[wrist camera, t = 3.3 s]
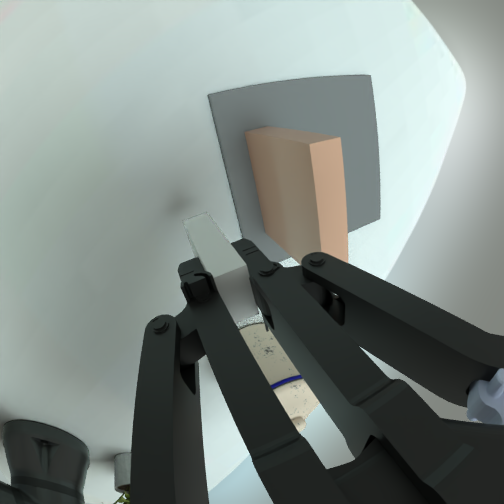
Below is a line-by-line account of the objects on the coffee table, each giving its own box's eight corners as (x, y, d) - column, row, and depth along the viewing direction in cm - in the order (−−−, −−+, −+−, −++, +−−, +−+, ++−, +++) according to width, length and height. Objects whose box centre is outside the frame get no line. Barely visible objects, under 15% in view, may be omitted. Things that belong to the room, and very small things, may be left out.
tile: (265, 232, 25) (323, 286, 18) (244, 131, 21) (309, 144, 13) (286, 225, 26) (349, 274, 18) (268, 126, 21) (341, 136, 14)
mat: (251, 271, 27) (252, 273, 27) (207, 95, 19) (209, 94, 18) (377, 217, 31) (380, 218, 30) (367, 75, 22) (370, 75, 22)
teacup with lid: (244, 384, 35) (283, 456, 25) (196, 359, 30) (232, 449, 20) (315, 325, 34) (372, 390, 25) (279, 287, 29) (346, 366, 20)
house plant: (65, 447, 29) (76, 537, 15) (133, 431, 32) (159, 534, 18) (115, 474, 36) (133, 547, 23) (176, 460, 39) (204, 536, 26)
